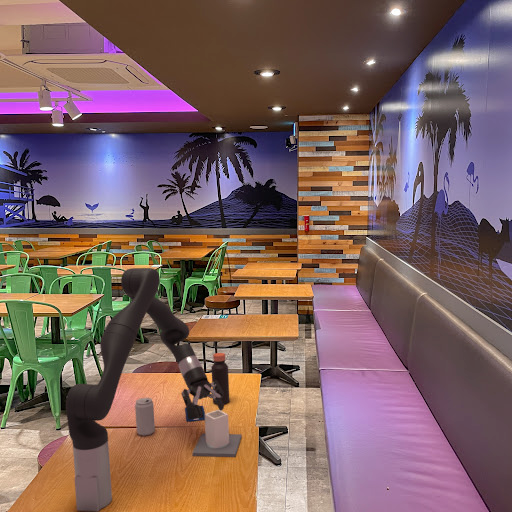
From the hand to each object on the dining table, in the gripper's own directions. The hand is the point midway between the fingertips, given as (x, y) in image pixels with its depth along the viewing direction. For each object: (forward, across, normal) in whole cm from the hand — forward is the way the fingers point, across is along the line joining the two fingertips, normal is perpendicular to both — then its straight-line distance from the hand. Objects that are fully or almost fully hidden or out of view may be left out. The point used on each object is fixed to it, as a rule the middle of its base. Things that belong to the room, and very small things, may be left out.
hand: (211, 412), depth 174 cm
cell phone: (-10, +8, +26) cm, 29 cm away
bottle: (-12, +22, +28) cm, 38 cm away
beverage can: (-9, -14, +24) cm, 29 cm away
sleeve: (+9, 0, +5) cm, 10 cm away
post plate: (+10, 0, +5) cm, 11 cm away
